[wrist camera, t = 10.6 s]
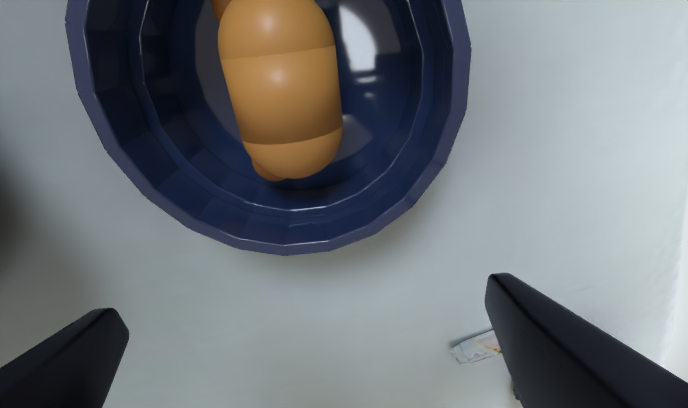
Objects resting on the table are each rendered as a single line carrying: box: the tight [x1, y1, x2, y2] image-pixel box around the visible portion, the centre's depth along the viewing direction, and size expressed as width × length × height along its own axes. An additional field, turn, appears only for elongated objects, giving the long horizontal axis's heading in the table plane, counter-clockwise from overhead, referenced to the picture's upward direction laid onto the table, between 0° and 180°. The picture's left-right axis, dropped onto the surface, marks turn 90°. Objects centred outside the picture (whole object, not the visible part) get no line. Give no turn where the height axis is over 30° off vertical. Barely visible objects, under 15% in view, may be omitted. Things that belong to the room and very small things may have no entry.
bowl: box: [65, 0, 471, 256], centre depth 13 cm, size 13×13×5 cm
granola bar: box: [449, 330, 502, 364], centre depth 24 cm, size 7×2×1 cm, turn 119°
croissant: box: [211, 0, 343, 181], centre depth 13 cm, size 5×9×4 cm, turn 6°
